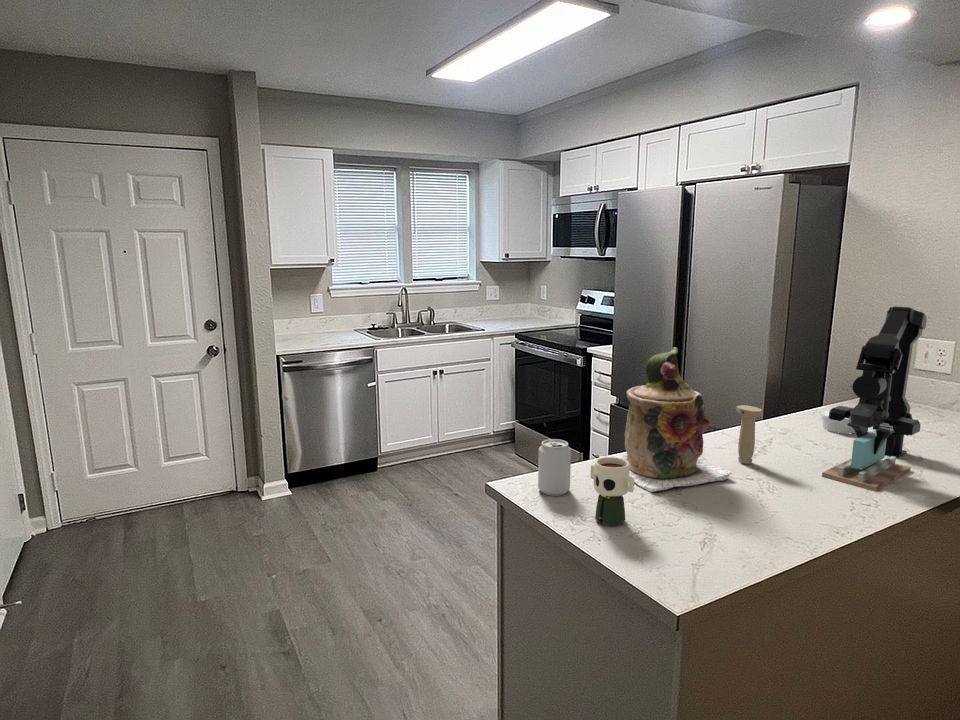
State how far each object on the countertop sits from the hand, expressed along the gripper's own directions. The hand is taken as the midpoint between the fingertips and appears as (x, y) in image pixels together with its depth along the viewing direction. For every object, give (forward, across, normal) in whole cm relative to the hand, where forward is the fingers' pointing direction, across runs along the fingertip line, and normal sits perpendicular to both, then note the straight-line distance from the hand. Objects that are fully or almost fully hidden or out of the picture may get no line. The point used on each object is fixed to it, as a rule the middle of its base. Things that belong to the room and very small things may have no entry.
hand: (869, 452), depth 153 cm
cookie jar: (+6, -33, -40) cm, 52 cm away
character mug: (+6, -21, -73) cm, 76 cm away
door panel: (+3, 0, 0) cm, 3 cm away
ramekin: (+6, -21, +35) cm, 41 cm away
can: (+6, -40, -71) cm, 82 cm away
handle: (+6, -23, -17) cm, 29 cm away
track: (+6, 0, 0) cm, 6 cm away
